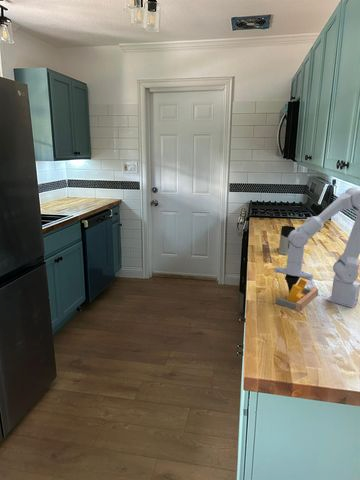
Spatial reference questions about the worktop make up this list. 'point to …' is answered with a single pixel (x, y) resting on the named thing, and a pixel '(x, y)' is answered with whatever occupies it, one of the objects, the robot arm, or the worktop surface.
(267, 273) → the worktop surface
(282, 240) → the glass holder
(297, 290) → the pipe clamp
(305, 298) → the stop frame
